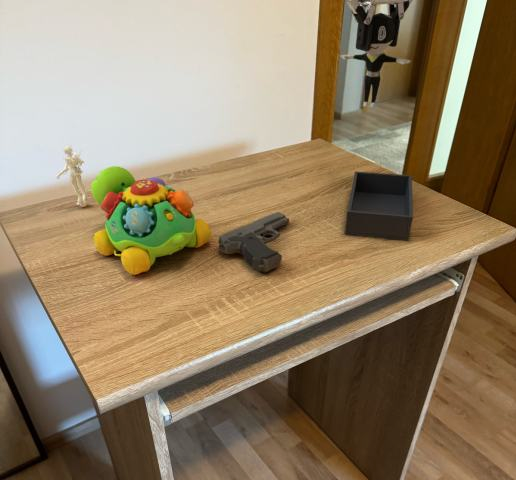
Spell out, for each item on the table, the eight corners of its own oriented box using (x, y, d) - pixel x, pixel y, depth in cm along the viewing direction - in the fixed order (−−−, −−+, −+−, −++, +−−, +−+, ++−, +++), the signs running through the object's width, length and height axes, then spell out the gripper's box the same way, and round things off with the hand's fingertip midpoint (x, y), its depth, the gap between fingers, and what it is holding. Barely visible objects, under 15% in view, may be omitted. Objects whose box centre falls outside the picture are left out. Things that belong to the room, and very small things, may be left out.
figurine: (61, 205, 98) (43, 145, 90) (90, 198, 101) (75, 138, 93) (69, 215, 95) (51, 153, 87) (99, 207, 97) (84, 146, 89)
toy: (330, 105, 95) (337, 13, 85) (341, 97, 99) (349, 8, 89) (398, 114, 90) (414, 17, 80) (407, 105, 94) (423, 12, 84)
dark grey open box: (407, 196, 99) (411, 175, 96) (408, 240, 86) (413, 217, 83) (352, 192, 101) (354, 171, 98) (344, 234, 88) (347, 211, 85)
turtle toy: (148, 207, 97) (137, 147, 89) (225, 249, 85) (220, 184, 77) (70, 237, 88) (51, 174, 81) (143, 289, 76) (129, 219, 68)
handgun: (327, 229, 85) (276, 206, 91) (263, 260, 75) (211, 233, 82) (325, 245, 87) (275, 222, 93) (262, 278, 77) (211, 250, 84)
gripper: (368, -85, 70) (353, 57, 82) (449, -87, 77) (425, 45, 89) (334, -85, 75) (325, 50, 87) (414, -86, 82) (395, 39, 94)
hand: (376, 46), depth 88 cm, fingers closed on toy, 5 cm apart
